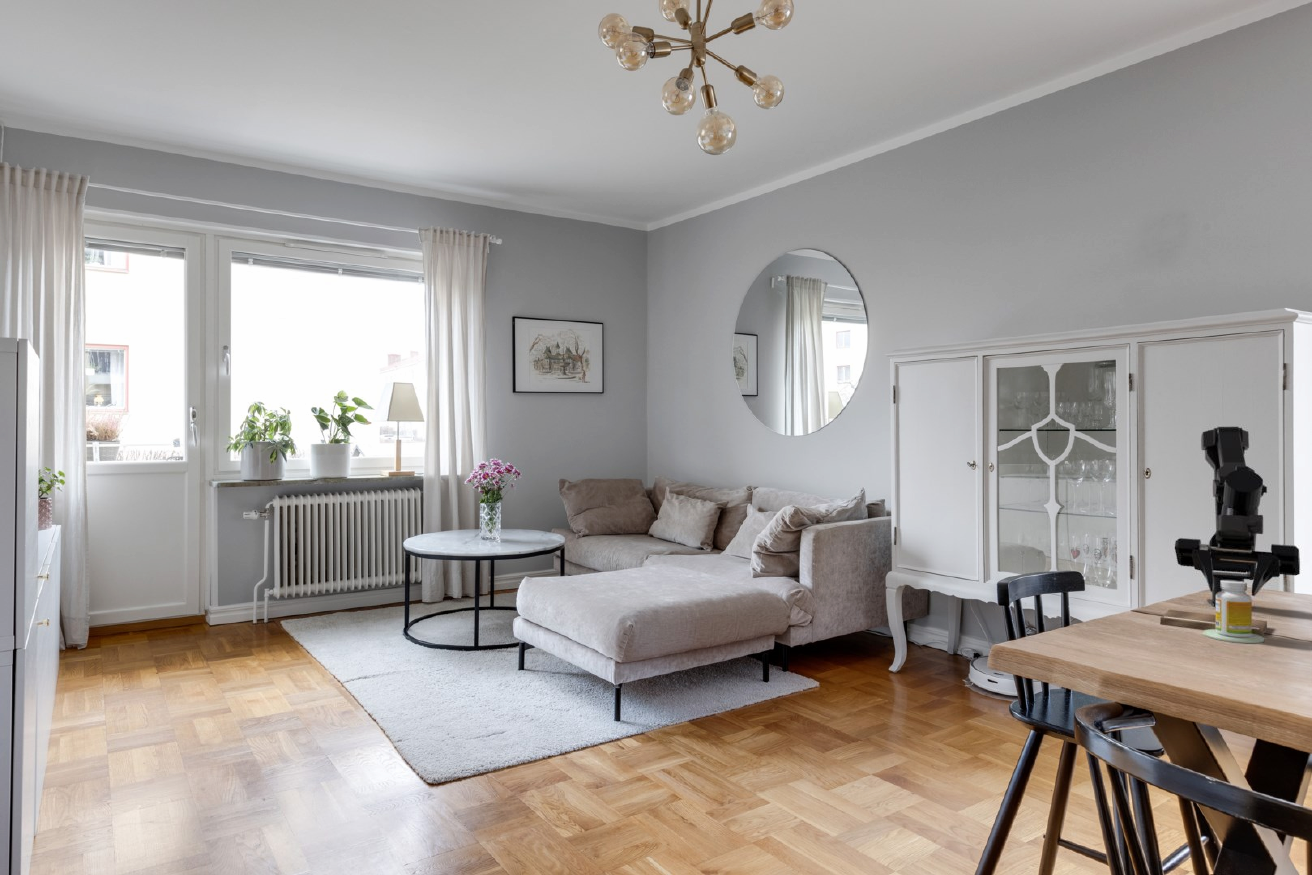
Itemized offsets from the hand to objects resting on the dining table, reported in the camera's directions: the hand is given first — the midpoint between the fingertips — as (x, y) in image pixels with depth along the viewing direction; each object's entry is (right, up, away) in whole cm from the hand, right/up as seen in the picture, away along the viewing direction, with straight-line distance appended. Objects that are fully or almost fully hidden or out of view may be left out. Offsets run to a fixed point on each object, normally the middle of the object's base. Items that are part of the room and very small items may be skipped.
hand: (1232, 592), depth 146 cm
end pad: (+1, -8, +1) cm, 8 cm away
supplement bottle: (+1, -8, +1) cm, 8 cm away
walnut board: (+4, -8, +10) cm, 14 cm away
